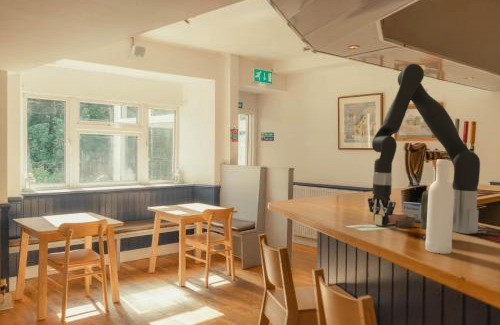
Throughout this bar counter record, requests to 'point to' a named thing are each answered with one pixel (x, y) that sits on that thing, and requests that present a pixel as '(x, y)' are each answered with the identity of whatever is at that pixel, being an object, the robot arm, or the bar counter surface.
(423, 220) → the tabletop clock
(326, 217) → the bar counter surface
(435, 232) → the bottle
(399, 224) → the shelf lane
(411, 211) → the medicine box
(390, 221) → the pull block
